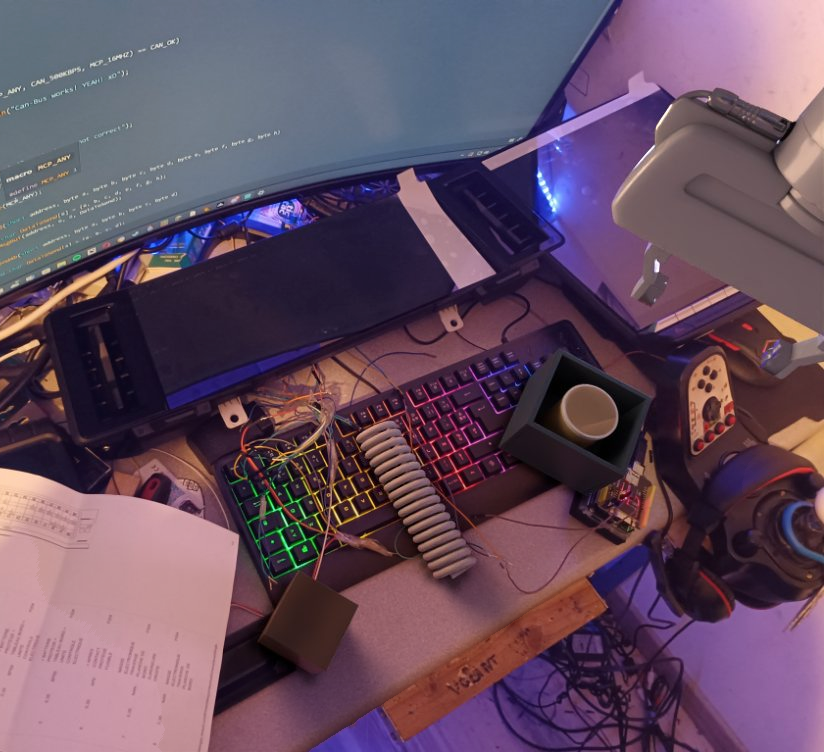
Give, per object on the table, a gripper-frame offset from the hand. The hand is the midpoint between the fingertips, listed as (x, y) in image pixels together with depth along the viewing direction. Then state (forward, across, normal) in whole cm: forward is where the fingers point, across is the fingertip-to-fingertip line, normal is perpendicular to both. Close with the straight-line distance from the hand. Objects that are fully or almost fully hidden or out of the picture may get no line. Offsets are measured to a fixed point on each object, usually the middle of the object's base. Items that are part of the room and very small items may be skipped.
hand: (705, 332), depth 48 cm
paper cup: (+32, +1, +16) cm, 36 cm away
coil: (+36, -10, 0) cm, 38 cm away
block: (+41, -13, -17) cm, 46 cm away
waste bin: (+32, +1, +16) cm, 36 cm away
